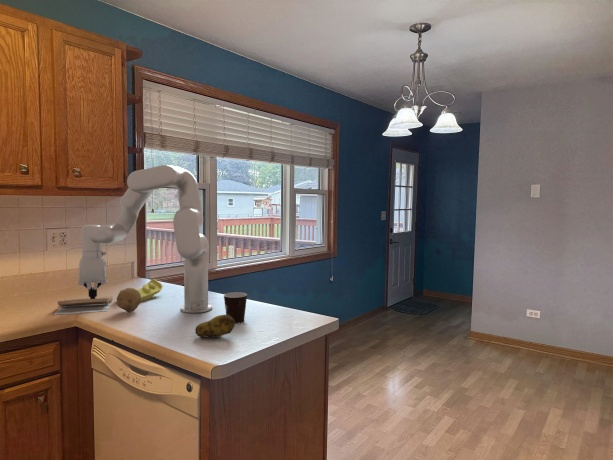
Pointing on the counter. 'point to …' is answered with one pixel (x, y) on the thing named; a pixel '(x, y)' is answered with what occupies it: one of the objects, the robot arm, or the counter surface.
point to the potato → (216, 326)
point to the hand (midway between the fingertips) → (92, 298)
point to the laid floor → (84, 307)
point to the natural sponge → (129, 299)
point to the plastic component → (149, 290)
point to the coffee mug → (235, 305)
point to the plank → (83, 302)
